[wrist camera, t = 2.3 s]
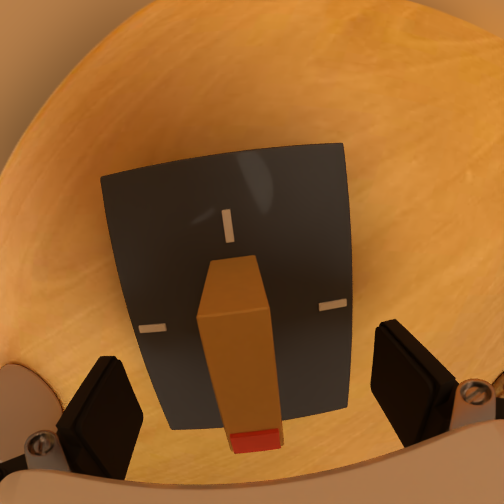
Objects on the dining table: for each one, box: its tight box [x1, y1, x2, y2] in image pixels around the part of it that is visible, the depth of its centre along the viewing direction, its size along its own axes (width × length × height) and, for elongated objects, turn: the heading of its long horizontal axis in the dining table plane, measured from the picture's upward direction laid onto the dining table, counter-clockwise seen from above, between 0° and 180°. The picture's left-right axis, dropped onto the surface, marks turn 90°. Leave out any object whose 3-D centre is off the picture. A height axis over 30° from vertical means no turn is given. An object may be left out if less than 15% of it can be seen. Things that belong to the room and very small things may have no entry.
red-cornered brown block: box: [196, 255, 284, 454], centre depth 11 cm, size 6×2×6 cm, turn 7°
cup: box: [0, 364, 62, 463], centre depth 14 cm, size 7×10×9 cm
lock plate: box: [100, 143, 353, 430], centre depth 15 cm, size 15×11×3 cm
